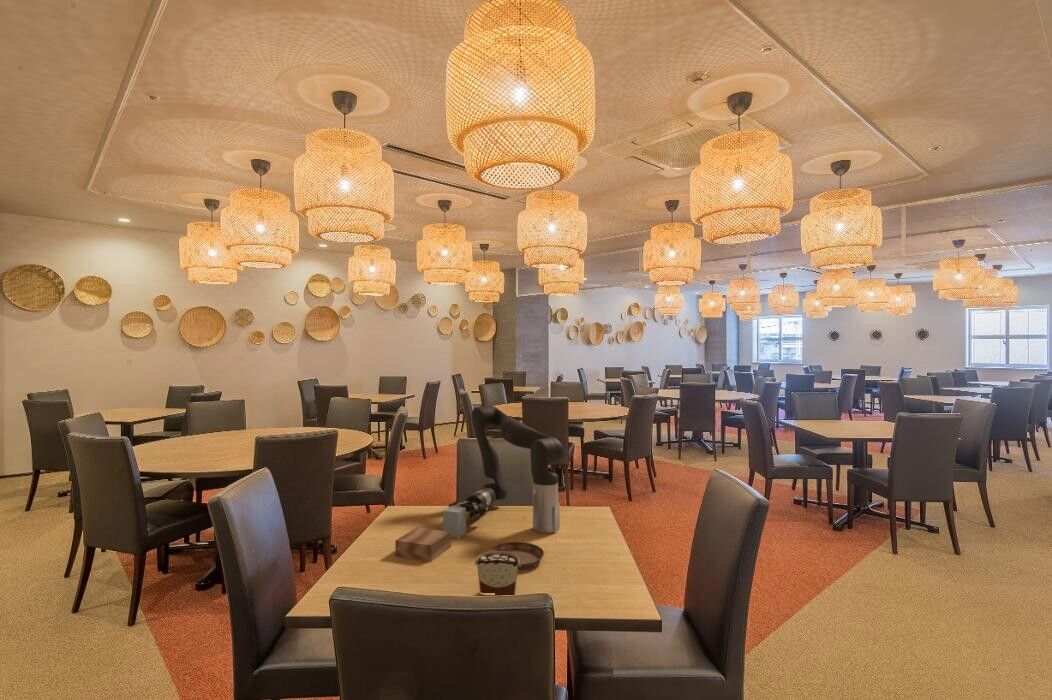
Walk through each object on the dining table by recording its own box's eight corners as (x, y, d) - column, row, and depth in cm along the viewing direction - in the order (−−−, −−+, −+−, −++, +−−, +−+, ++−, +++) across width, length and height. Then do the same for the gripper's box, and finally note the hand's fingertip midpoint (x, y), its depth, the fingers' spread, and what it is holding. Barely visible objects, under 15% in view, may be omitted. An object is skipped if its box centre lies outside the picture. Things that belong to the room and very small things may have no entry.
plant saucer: (533, 577, 157) (533, 566, 157) (477, 568, 163) (478, 558, 163) (551, 555, 173) (551, 545, 173) (500, 548, 179) (500, 538, 179)
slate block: (465, 532, 194) (465, 507, 194) (458, 538, 188) (458, 512, 188) (450, 530, 196) (450, 506, 196) (443, 536, 190) (443, 510, 190)
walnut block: (450, 546, 179) (450, 532, 179) (431, 561, 167) (431, 545, 167) (416, 542, 184) (416, 527, 184) (395, 556, 171) (395, 540, 171)
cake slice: (522, 586, 150) (522, 551, 150) (520, 597, 143) (520, 559, 143) (479, 584, 151) (479, 549, 151) (474, 594, 145) (474, 557, 145)
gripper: (462, 490, 213) (442, 501, 198) (495, 494, 209) (477, 505, 193) (462, 509, 213) (442, 521, 198) (495, 513, 209) (477, 526, 193)
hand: (459, 513), depth 196 cm, fingers open, 8 cm apart
